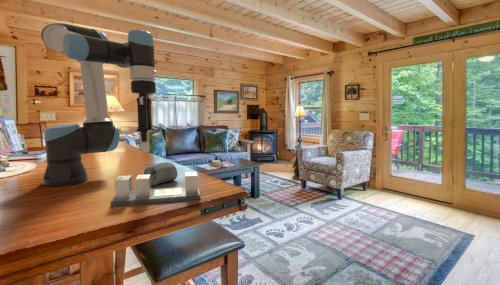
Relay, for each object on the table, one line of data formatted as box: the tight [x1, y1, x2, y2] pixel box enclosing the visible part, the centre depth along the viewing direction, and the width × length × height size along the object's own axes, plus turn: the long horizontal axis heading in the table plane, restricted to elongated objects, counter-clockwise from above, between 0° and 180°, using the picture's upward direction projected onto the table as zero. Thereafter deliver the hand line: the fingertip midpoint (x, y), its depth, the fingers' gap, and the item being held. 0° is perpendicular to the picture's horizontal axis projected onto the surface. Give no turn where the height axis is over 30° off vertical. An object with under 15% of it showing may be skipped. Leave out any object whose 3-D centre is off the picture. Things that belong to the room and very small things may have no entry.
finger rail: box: [110, 171, 201, 208], centre depth 89 cm, size 11×27×8 cm, turn 105°
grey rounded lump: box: [143, 161, 178, 187], centre depth 108 cm, size 14×10×10 cm
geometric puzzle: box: [134, 131, 158, 151], centre depth 89 cm, size 7×7×8 cm
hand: (146, 150), depth 89 cm, fingers closed on geometric puzzle, 8 cm apart
